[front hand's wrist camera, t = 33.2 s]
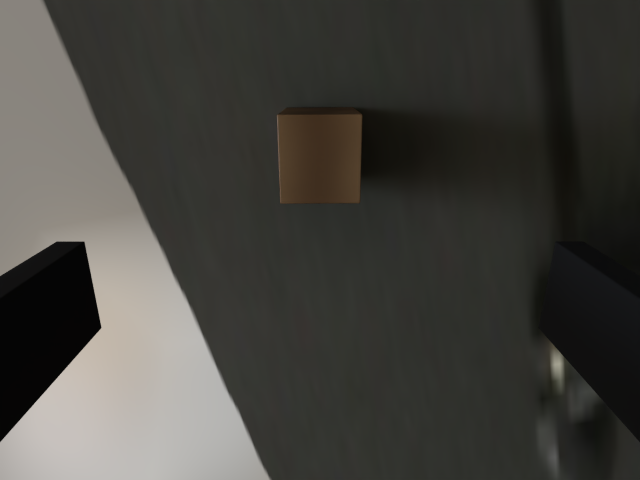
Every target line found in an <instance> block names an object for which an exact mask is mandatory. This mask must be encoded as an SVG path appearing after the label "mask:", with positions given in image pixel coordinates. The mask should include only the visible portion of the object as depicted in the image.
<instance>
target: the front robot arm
mask: <svg viewBox="0 0 640 480" xmlns="http://www.w3.org/2000/svg"><path fill="white" fill-rule="evenodd" d="M100 329H101V323H100V319H99V313H98V308H97V303H96V298H95V293H94V288H93V283H92V278H91V273H90V268H89V263H88V258H87V253H86V248H85V243H84V242H55V243H54V244H52V245H51V246H49V247H47V248H46V249H44V250H42V251H41V252H39V253H37V254H36V255H34V256H32V257H31V258H29V259H28V260H26V261H24V262H23V263H21V264H19V265H18V266H16V267H15V268H13V269H11V270H10V271H8V272H6V273H5V274H3V275H1V276H0V442H1V440H2V439H3V438H4V437H5V436H6V435H7V434H8V433H9V431H10V430H11V429H12V428H13V427H14V426H15V425H16V424H17V422H18V421H19V420H20V419H21V418H22V417H23V416H24V414H25V413H26V412H27V411H28V410H29V409H30V408H31V407H32V405H33V404H34V403H35V402H36V401H37V400H38V399H39V398H40V396H41V395H42V394H43V393H44V392H45V391H46V390H47V389H48V387H49V386H50V385H51V384H52V383H53V382H54V381H55V380H56V378H57V377H58V376H59V375H60V374H61V373H62V372H63V370H64V369H65V368H66V367H67V366H68V365H69V364H70V363H71V362H72V360H73V359H74V358H75V357H76V356H77V355H78V354H79V352H80V351H81V350H82V349H83V348H84V347H85V346H86V345H87V343H88V342H89V341H90V340H91V339H92V338H93V337H94V336H95V334H96V333H97V332H98V331H99V330H100ZM539 329H540V330H541V331H542V332H543V333H544V334H545V336H546V337H547V338H548V339H549V340H550V341H551V342H552V343H553V345H554V346H555V347H556V348H557V349H558V350H559V351H560V352H561V354H562V355H563V356H564V357H565V358H566V359H567V360H568V362H569V363H570V364H571V365H572V366H573V367H574V368H575V369H576V371H577V372H578V373H579V374H580V375H581V376H582V377H583V378H584V380H585V381H586V382H587V383H588V384H589V385H590V386H591V387H592V389H593V390H594V391H595V392H596V393H597V394H598V395H599V396H600V398H601V399H602V400H603V401H604V402H605V403H606V404H607V406H608V407H609V408H610V409H611V410H612V411H613V412H614V413H615V415H616V416H617V417H618V418H619V419H620V420H621V421H622V422H623V424H624V425H625V426H626V427H627V428H628V429H629V430H630V431H631V433H632V434H633V435H634V436H635V437H636V438H637V439H638V440H639V442H640V276H639V275H637V274H635V273H634V272H632V271H630V270H629V269H627V268H626V267H624V266H622V265H621V264H619V263H617V262H616V261H614V260H612V259H611V258H609V257H608V256H606V255H604V254H603V253H601V252H599V251H598V250H596V249H594V248H593V247H591V246H589V245H588V244H586V243H585V242H556V243H555V248H554V253H553V258H552V263H551V268H550V273H549V278H548V283H547V288H546V293H545V298H544V303H543V308H542V313H541V318H540V323H539Z"/></svg>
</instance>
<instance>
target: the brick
mask: <svg viewBox="0 0 640 480" xmlns="http://www.w3.org/2000/svg"><path fill="white" fill-rule="evenodd" d="M277 127H278V153H279V179H280V203H281V204H285V203H360V187H361V149H362V114H361V113H360V112H358V111H357V110H356V109H355V108H353V107H310V108H286V109H284V110H283V111H282V112H281V113H279V114H278V115H277Z"/></svg>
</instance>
